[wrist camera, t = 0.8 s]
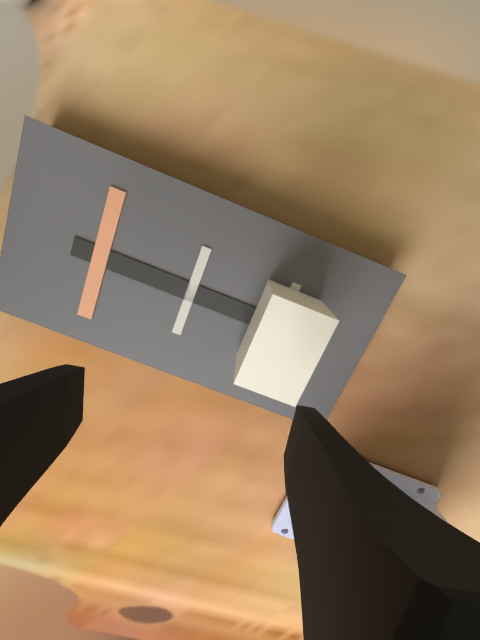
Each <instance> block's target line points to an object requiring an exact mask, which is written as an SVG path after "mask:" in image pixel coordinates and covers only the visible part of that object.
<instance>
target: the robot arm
mask: <svg viewBox="0 0 480 640" xmlns="http://www.w3.org/2000/svg"><path fill="white" fill-rule="evenodd" d="M84 372H85V367H79V366H73V365H67V364H66V365H61V366H57V367H53V368H49V369H46V370H43V371H40V372H36V373H33V374H30V375H27V376H24V377H21V378H17V379H14V380H11V381H8V382H5V383H1V384H0V527H1V525H2V524H3V522H4V521H5V520H6V518H7V517H8V516H9V515H10V513H11V512H12V511H13V509H14V508H15V507H16V506H17V504H18V503H19V502H20V501H21V500H22V499H23V497H24V496H25V495H26V494H27V493H28V491H29V490H30V489H31V488H32V487H33V486H34V484H35V483H36V482H37V481H38V480H39V478H40V477H41V476H42V475H43V474H44V472H45V471H46V470H47V469H48V468H49V467H50V465H51V464H52V463H53V462H54V461H55V459H56V458H57V457H58V456H59V454H60V453H61V452H62V451H63V450H64V448H65V447H66V446H67V444H68V443H69V441H70V440H71V438H72V437H73V435H74V433H75V432H76V430H77V429H78V427H79V425H80V424H81V422H82V420H83V396H84ZM284 473H285V487H286V493H287V496H286V498H285V500H284V502H283V503H282V505H281V507H280V509H279V511H278V512H277V514H276V516H275V518H274V520H273V521H272V524H271V528H272V531H273V532H274V533H276V534H279V535H282V536H285V537H288V538H291V539H294V541H295V547H296V553H297V560H298V568H299V578H300V591H301V604H302V619H303V636H304V640H480V543H479V542H478V541H476V540H474V539H473V538H471V537H469V536H468V535H466V534H464V533H463V532H461V531H460V530H458V529H456V528H455V527H453V526H452V525H450V524H449V523H447V521H446V520H445V518H444V517H443V515H442V514H441V512H440V511H439V509H438V507H437V506H436V502H437V501H438V500H439V498H440V496H441V492H440V491H439V489H438V488H437V487H435V486H433V485H430V484H427V483H425V482H422V481H419V480H417V479H414V478H411V477H408V476H406V475H403V474H400V473H398V472H395V471H392V470H389V469H387V468H384V467H381V466H378V465H376V464H373V463H370V462H368V461H367V460H365V459H364V458H363V457H362V456H361V455H360V454H359V453H358V452H357V451H356V450H355V449H354V448H353V447H352V446H351V445H350V444H349V443H348V442H347V441H346V440H345V439H344V438H343V437H342V436H341V435H340V434H339V433H338V432H337V431H336V429H335V428H334V427H333V426H332V425H331V424H330V423H329V422H328V421H327V420H326V419H325V418H324V417H323V416H322V414H321V413H320V412H319V411H318V410H316V409H315V408H312V407H307V406H301V405H297V406H296V410H295V414H294V418H293V422H292V426H291V430H290V434H289V437H288V441H287V445H286V449H285V453H284ZM419 488H421V489H419ZM284 528H286V529H284Z"/></svg>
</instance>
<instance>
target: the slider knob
mask: <svg viewBox="0 0 480 640" xmlns="http://www.w3.org/2000/svg"><path fill="white" fill-rule="evenodd" d="M338 323H339V320H338V319H337V317H336V316H335V315H334V314H333V313H332V312H331V311H330V310H329V309H328V307H327V306H326V305H325V304H324V303H323V302H322V301H321V300H318V299H316V298H313V297H311V296H308V295H306V294H304V293H301V292H299V291H296V290H294V289H291V288H289V287H286V286H284V285H281V284H279V283H276V282H274V281H271V280H269V279H268V281H267V284H266V286H265V288H264V291H263V293H262V295H261V298H260V300H259V302H258V305H257V307H256V310H255V312H254V314H253V317H252V319H251V321H250V324H249V326H248V328H247V331H246V333H245V335H244V338H243V340H242V342H241V345H240V347H239V349H238V352H237V357H236V366H235V375H234V383H233V384H235V385H238V386H240V387H243V388H246V389H248V390H251V391H254V392H256V393H259V394H262V395H264V396H267V397H270V398H272V399H275V400H278V401H280V402H283V403H286V404H288V405H291V406H294V407H296V405H297V403H298V401H299V399H300V397H301V395H302V393H303V391H304V389H305V387H306V385H307V383H308V381H309V379H310V377H311V375H312V373H313V371H314V369H315V368H316V366H317V364H318V362H319V360H320V358H321V356H322V354H323V352H324V350H325V348H326V346H327V344H328V342H329V340H330V338H331V336H332V334H333V332H334V330H335V328H336V327H337V325H338Z"/></svg>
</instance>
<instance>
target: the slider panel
mask: <svg viewBox="0 0 480 640" xmlns="http://www.w3.org/2000/svg"><path fill="white" fill-rule="evenodd" d="M405 277H406V275H405V274H402V273H400V272H398V271H395V270H393V269H390V268H388V267H386V266H383V265H381V264H379V263H376V262H374V261H371V260H369V259H367V258H364V257H362V256H359V255H357V254H355V253H352V252H350V251H348V250H345V249H343V248H340V247H338V246H336V245H333V244H331V243H328V242H326V241H324V240H321V239H319V238H316V237H314V236H312V235H309V234H307V233H305V232H302V231H300V230H297V229H295V228H293V227H290V226H288V225H285V224H283V223H281V222H278V221H276V220H274V219H271V218H269V217H266V216H264V215H262V214H259V213H257V212H254V211H252V210H250V209H247V208H245V207H242V206H240V205H238V204H235V203H233V202H231V201H228V200H226V199H223V198H221V197H219V196H216V195H214V194H211V193H209V192H207V191H204V190H202V189H199V188H197V187H195V186H192V185H190V184H188V183H185V182H183V181H180V180H178V179H176V178H173V177H171V176H168V175H166V174H164V173H161V172H159V171H157V170H154V169H152V168H149V167H147V166H145V165H142V164H140V163H137V162H135V161H133V160H130V159H128V158H125V157H123V156H121V155H118V154H116V153H114V152H111V151H109V150H106V149H104V148H102V147H99V146H97V145H94V144H92V143H90V142H87V141H85V140H83V139H80V138H78V137H75V136H73V135H71V134H68V133H66V132H63V131H61V130H59V129H56V128H54V127H51V126H49V125H47V124H44V123H42V122H40V121H37V120H35V119H32V118H30V117H28V116H25V118H24V124H23V130H22V136H21V141H20V147H19V153H18V158H17V164H16V170H15V176H14V181H13V187H12V193H11V199H10V204H9V210H8V216H7V222H6V227H5V233H4V239H3V245H2V250H1V256H0V311H2V312H5V313H7V314H10V315H13V316H16V317H18V318H21V319H24V320H26V321H29V322H32V323H34V324H37V325H40V326H43V327H45V328H48V329H51V330H53V331H56V332H59V333H61V334H64V335H67V336H69V337H72V338H75V339H78V340H80V341H83V342H86V343H88V344H91V345H94V346H96V347H99V348H102V349H105V350H107V351H110V352H113V353H115V354H118V355H121V356H123V357H126V358H129V359H131V360H134V361H137V362H140V363H142V364H145V365H148V366H150V367H153V368H156V369H158V370H161V371H164V372H167V373H169V374H172V375H175V376H177V377H180V378H183V379H185V380H188V381H191V382H193V383H196V384H199V385H202V386H204V387H207V388H210V389H212V390H215V391H218V392H220V393H223V394H226V395H229V396H231V397H234V398H237V399H239V400H242V401H245V402H247V403H250V404H253V405H255V406H258V407H261V408H264V409H266V410H269V411H272V412H274V413H277V414H280V415H282V416H285V417H288V418H291V419H293V418H294V414H295V410H296V407H294V406H291V405H288V404H286V403H283V402H280V401H278V400H275V399H272V398H270V397H267V396H264V395H262V394H259V393H256V392H254V391H251V390H248V389H246V388H243V387H240V386H238V385H235V384H233V383H234V375H235V366H236V357H237V352H238V349H239V347H240V345H241V342H242V340H243V338H244V335H245V333H246V331H247V328H248V326H249V324H250V321H251V319H252V317H253V314H254V312H255V310H256V307H257V305H258V302H259V300H260V298H261V295H262V293H263V291H264V288H265V286H266V284H267V281H268V279H269V280H271V281H274V282H276V283H279V284H281V285H284V286H286V287H289V288H291V289H294V290H296V291H299V292H301V293H304V294H306V295H308V296H311V297H313V298H316V299H318V300H321V301H322V302H323V303H324V304H325V305H326V306H327V307H328V309H329V310H330V311H331V312H332V313H333V314H334V315H335V316H336V317H337V319H338V320H339V323H338V325H337V327H336V328H335V330H334V332H333V334H332V336H331V338H330V340H329V342H328V344H327V346H326V348H325V350H324V352H323V354H322V356H321V358H320V360H319V362H318V364H317V366H316V368H315V369H314V371H313V373H312V375H311V377H310V379H309V381H308V383H307V385H306V387H305V389H304V391H303V393H302V395H301V397H300V399H299V401H298V403H297V405H301V406H307V407H312V408H315V409H316V410H318V411H319V412H320V413H321V414H322V416H323V417H324V418H325V419H326V420H327V418H328V416H329V414H330V413H331V411H332V409H333V407H334V405H335V404H336V402H337V400H338V398H339V396H340V395H341V393H342V391H343V389H344V387H345V386H346V384H347V382H348V380H349V378H350V376H351V375H352V373H353V371H354V369H355V367H356V366H357V364H358V362H359V360H360V358H361V357H362V355H363V353H364V351H365V349H366V348H367V346H368V344H369V342H370V340H371V338H372V337H373V335H374V333H375V331H376V329H377V328H378V326H379V324H380V322H381V320H382V319H383V317H384V315H385V313H386V311H387V310H388V308H389V306H390V304H391V302H392V300H393V299H394V297H395V295H396V293H397V291H398V290H399V288H400V286H401V284H402V282H403V281H404V279H405ZM297 405H296V406H297Z"/></svg>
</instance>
